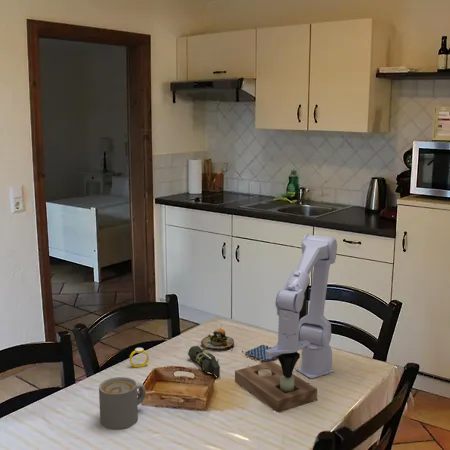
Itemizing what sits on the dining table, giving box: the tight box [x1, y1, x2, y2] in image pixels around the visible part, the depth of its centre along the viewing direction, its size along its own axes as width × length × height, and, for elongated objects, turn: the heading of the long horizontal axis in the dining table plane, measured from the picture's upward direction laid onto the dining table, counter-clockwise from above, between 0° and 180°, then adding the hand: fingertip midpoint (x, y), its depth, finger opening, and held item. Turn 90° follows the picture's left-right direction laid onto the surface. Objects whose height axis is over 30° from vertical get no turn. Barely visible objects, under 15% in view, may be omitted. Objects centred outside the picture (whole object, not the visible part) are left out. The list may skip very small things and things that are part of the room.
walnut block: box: [234, 361, 318, 413], centre depth 170 cm, size 14×22×4 cm, turn 31°
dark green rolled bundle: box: [187, 345, 221, 379], centre depth 185 cm, size 6×5×18 cm
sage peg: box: [280, 375, 294, 392], centre depth 164 cm, size 4×4×4 cm
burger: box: [200, 324, 235, 350], centre depth 203 cm, size 12×12×8 cm
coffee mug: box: [98, 376, 146, 431], centre depth 154 cm, size 13×10×10 cm
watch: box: [129, 347, 150, 368], centre depth 186 cm, size 6×3×6 cm, turn 107°
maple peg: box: [258, 369, 272, 378], centre depth 174 cm, size 4×4×4 cm
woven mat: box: [244, 344, 279, 364], centre depth 195 cm, size 10×11×2 cm
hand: (287, 376), depth 164 cm, fingers closed
